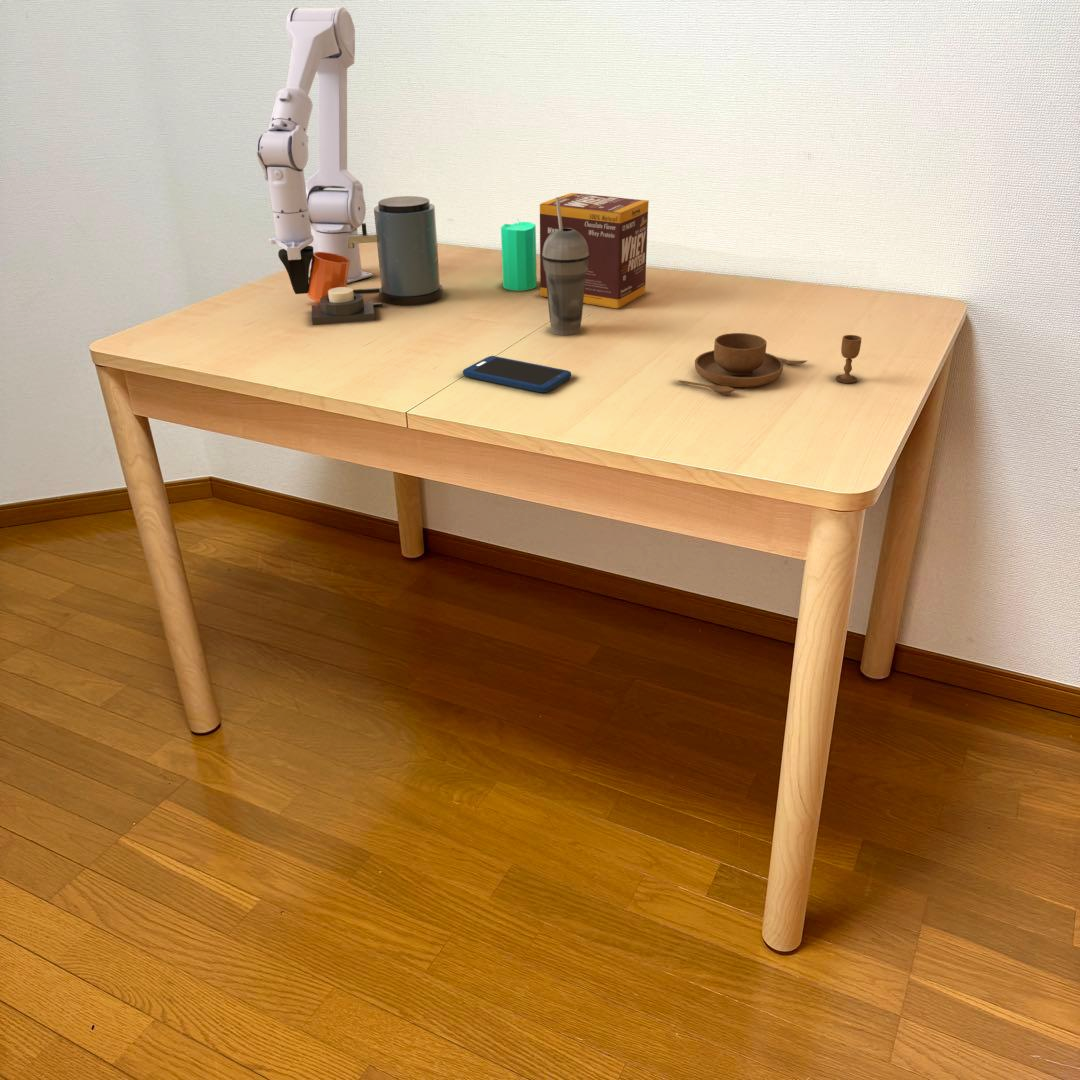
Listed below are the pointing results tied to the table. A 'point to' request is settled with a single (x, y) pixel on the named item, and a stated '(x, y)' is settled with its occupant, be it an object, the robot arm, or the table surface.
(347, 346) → the table surface
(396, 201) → the dispenser
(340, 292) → the button
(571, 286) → the beverage cup
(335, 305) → the button block
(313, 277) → the cup
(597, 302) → the supplement box
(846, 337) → the place setting
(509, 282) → the candle
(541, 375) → the cell phone
